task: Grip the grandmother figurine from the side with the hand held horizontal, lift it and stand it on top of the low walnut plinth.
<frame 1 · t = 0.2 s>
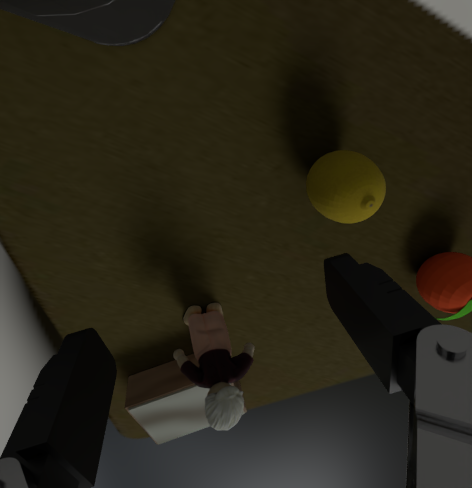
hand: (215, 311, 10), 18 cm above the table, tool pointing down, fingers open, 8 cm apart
plinth: (188, 380, 39), on the table
grandmother figurine: (208, 311, 34), on the table
lemon: (320, 171, 28), on the table
clementine: (424, 267, 38), on the table
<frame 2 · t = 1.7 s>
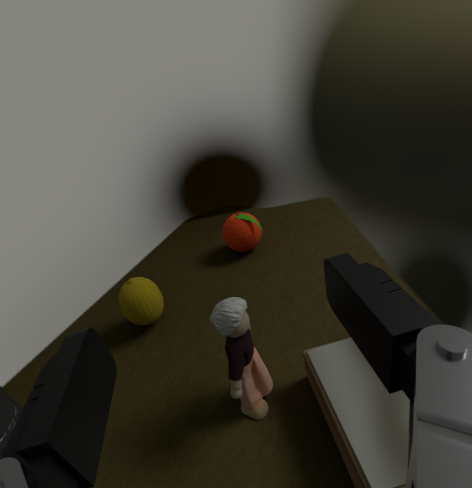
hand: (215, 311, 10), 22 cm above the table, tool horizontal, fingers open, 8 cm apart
plinth: (381, 420, 26), on the table
grandmother figurine: (256, 393, 31), on the table
lemon: (152, 323, 43), on the table
clementine: (248, 249, 54), on the table
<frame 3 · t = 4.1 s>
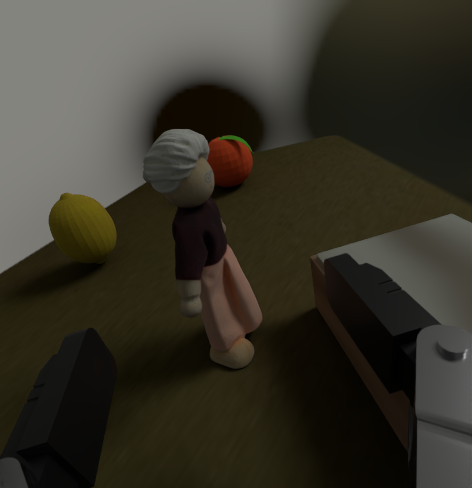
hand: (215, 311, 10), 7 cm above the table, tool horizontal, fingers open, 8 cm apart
plinth: (453, 359, 15), on the table
grandmother figurine: (236, 333, 20), on the table
lemon: (103, 264, 32), on the table
clementine: (236, 186, 43), on the table
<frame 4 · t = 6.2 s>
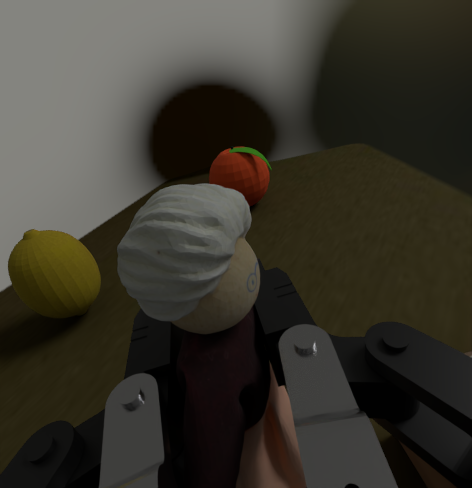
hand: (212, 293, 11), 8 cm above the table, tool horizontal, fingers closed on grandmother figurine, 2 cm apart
grandmother figurine: (271, 475, 13), on the table, touching gripper
lemon: (84, 315, 25), on the table
clementine: (249, 207, 36), on the table
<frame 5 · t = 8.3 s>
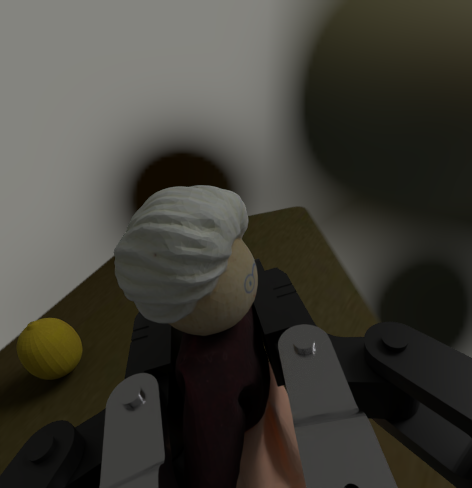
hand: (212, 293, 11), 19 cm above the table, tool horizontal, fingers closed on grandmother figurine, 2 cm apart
grandmother figurine: (272, 475, 13), point 11 cm above the table, touching gripper
lemon: (70, 372, 35), on the table
when the fingers open (12 cm above the table, at t = 10.3 s): grandmother figurine stays where it is, resting on plinth.
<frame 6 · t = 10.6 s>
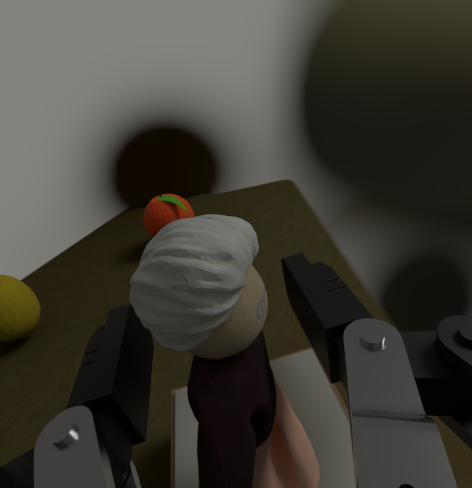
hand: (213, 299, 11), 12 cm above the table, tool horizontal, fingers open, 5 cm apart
grandmother figurine: (275, 485, 13), point 4 cm above the table, touching plinth
lemon: (28, 337, 32), on the table
clementine: (180, 241, 43), on the table
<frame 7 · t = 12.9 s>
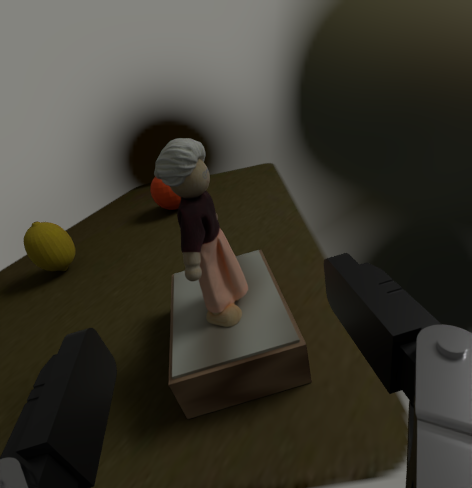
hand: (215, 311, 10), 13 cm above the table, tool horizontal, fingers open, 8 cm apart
plinth: (235, 336, 26), on the table
grandmother figurine: (227, 302, 24), point 4 cm above the table, touching plinth
lemon: (66, 271, 43), on the table
clementine: (179, 208, 54), on the table
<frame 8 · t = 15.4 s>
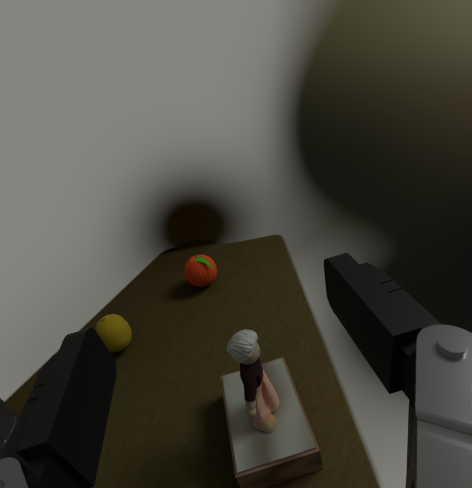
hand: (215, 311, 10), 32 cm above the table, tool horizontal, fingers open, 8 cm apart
plinth: (268, 426, 38), on the table
grandmother figurine: (264, 408, 36), point 4 cm above the table, touching plinth
lemon: (123, 349, 55), on the table
clementine: (207, 284, 66), on the table
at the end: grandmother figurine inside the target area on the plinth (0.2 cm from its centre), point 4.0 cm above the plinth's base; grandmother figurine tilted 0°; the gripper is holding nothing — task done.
